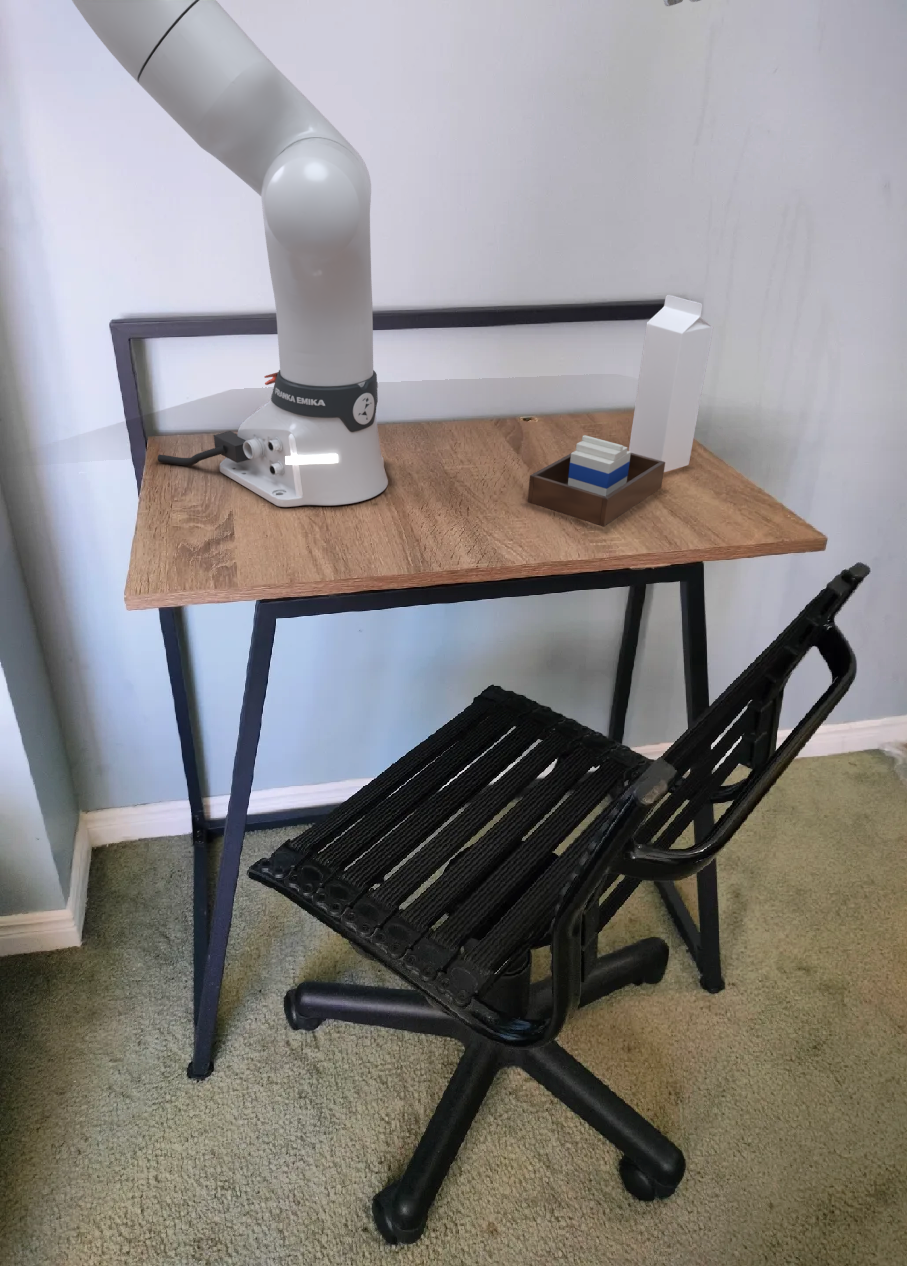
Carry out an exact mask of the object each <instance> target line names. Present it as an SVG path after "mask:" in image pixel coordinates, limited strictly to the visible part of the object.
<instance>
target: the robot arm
mask: <svg viewBox="0 0 907 1266" xmlns="http://www.w3.org/2000/svg"><path fill="white" fill-rule="evenodd" d="M71 1H72V3H73V4H74V6H75V7H76V9H77V10H78V12H79V13H80V15H81V16H82V18H83V19H84V21H85V22H86V23H87V25H88V26H89V27H90V29H91V30H92V31H93V32H94V33H95V35H96V37H97V38H98V39H99V40H100V42H101V43H102V44H103V45H104V46H105V47H106V49H107V50H108V52H110V54H111V55H112V56H113V57H114V59H116V60H117V62H118V63H119V64H120V65H121V66H122V68H124V70H125V71H126V72H127V73H128V74H129V75H130V76H131V77H132V78H133V80H135V81H136V83H137V84H138V85H139V86H140V87H141V88H142V89H143V90H144V91H145V92H146V93H147V94H148V95H149V96H150V97H151V98H152V99H153V100H154V101H155V102H156V103H157V104H158V105H159V106H160V107H161V108H162V109H163V111H165V113H167V114H168V115H169V117H171V119H172V120H173V121H175V122H176V124H177V125H178V126H179V127H180V128H182V130H183V131H184V132H185V133H186V134H187V135H188V136H189V137H190V138H191V139H192V140H193V141H194V142H195V143H196V144H197V145H198V146H199V147H200V148H201V149H202V150H203V151H205V152H207V153H208V154H210V155H211V156H212V157H214V158H215V159H216V160H217V161H219V163H221V164H222V165H224V166H225V167H226V168H227V169H229V170H230V171H231V172H232V173H233V174H234V175H236V176H237V177H238V178H239V179H241V180H242V181H243V182H244V183H245V184H246V185H248V187H250V188H251V189H252V190H253V191H254V192H255V193H256V194H258V196H260V197H261V208H262V209H261V210H262V217H263V227H264V235H265V244H266V251H267V260H268V266H269V267H268V268H269V272H270V279H271V285H272V291H273V298H274V304H275V316H276V330H277V331H276V332H277V344H278V346H277V347H278V359H279V370H278V371H277V372H274V373H270V374H267V375H264V379H267V378H268V380H267V381H265V382H264V385H265V386H268V385H272V384H274V385H273V389H272V392H271V397H270V400H269V401H267V402H266V403H264V405H262V406H261V407H260V408H258V410H256V411H255V412H253V413H252V414H250V415H249V416H248V417H246V418H245V420H243V421H242V423H240V425H239V428H238V430H237V433H235V432H234V431H231V430H229V431H224V432H221V433H217V434H213V443H214V448H210V449H207V450H204V451H201V452H198V453H195V454H194V455H192V456H191V457H178V456H173V455H167V454H161V453H160V454H158V455H157V462H159V463H162V464H163V463H165V464H170V465H176V466H193V465H194V466H195V465H196V464H198V463H199V462H201V461H204V460H207V459H210V458H213V457H216V456H223V457H225V458H224V459H223V460H222V461H221V462H220V463H219V472H220V473H221V474H223V475H224V476H226V477H228V478H229V479H230V480H231V479H232V481H235V482H237V483H238V484H240V485H242V486H243V487H245V488H247V490H249V491H251V492H253V493H254V494H256V495H258V496H260V497H261V498H263V499H264V500H266V501H268V502H269V503H272V504H273V505H275V506H277V507H280V508H290V507H291V508H292V507H299V506H342V505H343V506H344V505H349V504H356V503H359V502H363V501H366V500H370V499H372V498H375V497H377V496H378V495H380V494H382V493H383V492H384V491H385V490H386V489H387V487H388V485H389V480H388V475H387V472H386V470H385V461H384V457H383V456H382V449H381V442H380V435H379V429H378V428H379V427H378V421H377V420H378V419H377V415H376V413H377V405H378V401H379V399H378V397H379V396H378V395H379V394H378V393H379V392H378V388H379V383H378V374H377V371H375V370H374V325H373V324H374V321H373V318H374V317H373V289H372V288H373V287H372V285H373V284H372V256H371V255H372V252H371V205H372V204H371V203H372V181H371V176H370V172H369V169H368V166H367V164H366V162H365V161H364V158H363V157H362V156H361V154H360V153H359V152H358V151H357V149H356V148H355V147H354V146H353V145H352V144H351V142H350V141H348V139H346V137H344V135H343V134H342V133H341V132H340V131H339V130H338V129H337V128H336V127H335V126H334V124H332V122H330V120H329V119H327V118H326V117H325V115H324V114H323V113H322V112H321V111H320V110H319V109H318V108H317V107H316V106H315V105H314V104H313V103H312V102H311V101H310V99H308V98H307V96H305V95H304V94H303V93H302V92H301V90H299V89H298V88H297V86H296V85H295V84H293V82H292V81H291V80H289V78H287V76H286V75H285V74H284V73H283V72H282V71H281V70H280V69H279V68H278V67H277V66H276V65H275V64H274V63H273V62H272V61H271V60H270V58H269V57H267V55H265V53H264V52H263V51H262V50H261V49H260V48H259V46H258V45H257V44H256V43H255V42H254V41H253V40H252V39H251V38H250V37H249V36H248V34H247V33H246V31H245V30H243V29H242V28H241V26H240V25H239V24H238V23H237V22H236V21H235V20H234V19H233V17H232V16H231V15H230V14H229V13H228V12H227V11H226V10H225V9H224V7H222V5H221V4H220V2H218V1H217V0H71ZM683 1H684V0H663V4H664V6H665V7H673V6H675V5H677V4H680V3H683ZM700 1H701V0H689V2H691V3H698V2H700ZM269 378H271V379H269Z"/></svg>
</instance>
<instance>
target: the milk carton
mask: <svg viewBox="0 0 907 1266" xmlns="http://www.w3.org/2000/svg"><path fill="white" fill-rule="evenodd" d="M570 454H571V459H570V466H569V476H568V477H569V478H568V485H570V486H573V487H576V488H580V489H583V490H586V491H589V492H593V493H596V494H599V495H603V496H607V495H608V494H610V493H611V492H613V491H615V490H616V489H618V488H619V487H621V486H623V485H624V484H626V482H627V476H628V470H629V463H630V454H631V452H630V451H629V450H628V447H627V446H624V445H622V444H619V443H615V442H612V441H608V440H604V439H600V438H597V437H593V436H590V435H586V434H584V435H582V436H581V441H579V442H577V443H576V444H575V450H574V451H572V452H571V453H570Z"/></svg>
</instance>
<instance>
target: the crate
mask: <svg viewBox="0 0 907 1266" xmlns="http://www.w3.org/2000/svg"><path fill="white" fill-rule="evenodd" d="M570 459H571V453H569V454H567V455H565V456H563V457H562V458H559V459H558V460H556V461H554V462H552V463H550V464H548V465H546V466H545V467H543V468H540V470H539V469H538V470H537V471H535V472H533V473H532V474H530V475H529V479H528V480H529V481H528V493H527V503H529V504H532V505H535V506H538V507H540V508H544V509H547V510H551V511H553V512H557V513H559V514H563V515H566V516H568V517H572V518H575V519H577V520H581V521H585V522H587V523H591V524H593V525H596V526H600V527H603V528H605V527H606V526H608V525H609V524H611V523H612V522H614V521H615V520H616V519H618V518H619V517H621V516H622V515H624V514H625V513H627V512H628V511H630V510H631V509H633V508H635V507H636V506H637V505H638V504H640V503H641V502H643V501H644V500H646V499H647V498H649V497H650V496H652V495H654V494H655V493H656V492H658V491H659V490H661V489H662V486H663V485H662V484H663V478H664V473H665V472H664V467H665V462H663V461H659V460H656V459H652V458H649V457H645V456H641V455H638V454H634V453H631V454H630V463H629V470H628V476H627V482H626V484H624V485H623V486H621V487H619V488H618V489H616V490H615V491H613V492H611V493H610V494H608V495H607V496H603V495H599V494H596V493H593V492H589V491H586V490H583V489H580V488H576V487H573V486H570V485H568V478H569V477H568V476H569V466H570Z"/></svg>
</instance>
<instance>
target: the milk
mask: <svg viewBox="0 0 907 1266" xmlns="http://www.w3.org/2000/svg"><path fill="white" fill-rule="evenodd" d="M702 312H703V304H702V303H701V302H698V301H694V300H690V299H686V298H683V297H679V296H675V295H672V294H667V295H665V298H664V304H663V307H662V308H660V310H658V312H656V313H655V314H654V315H653V316H652V317H651V318H649V320H648V321H647V322H646V325H645V333H644V339H643V347H642V354H641V361H640V366H639V367H640V369H639V375H638V382H637V390H636V397H635V404H634V409H633V410H634V412H633V419H632V426H631V431H630V432H631V433H630V439H629V440H630V441H629V447H628V451H630V452H631V453H634V454H638V455H641V456H645V457H649V458H652V459H656V460H659V461H663V462H665V467H664V473H666V472H670V471H673V470H677V469H681V468H683V467H686V466H689V465H690V459H691V455H692V449H693V444H694V438H695V432H696V426H697V421H698V416H699V415H698V414H699V411H700V405H701V398H702V393H703V388H704V382H705V377H706V371H707V365H708V360H709V356H710V355H709V354H710V348H711V342H712V337H713V331H714V326H713V325H712V324H711V323H709V322H708V321H707V320H706V319H705V318H704V317H702Z"/></svg>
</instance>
